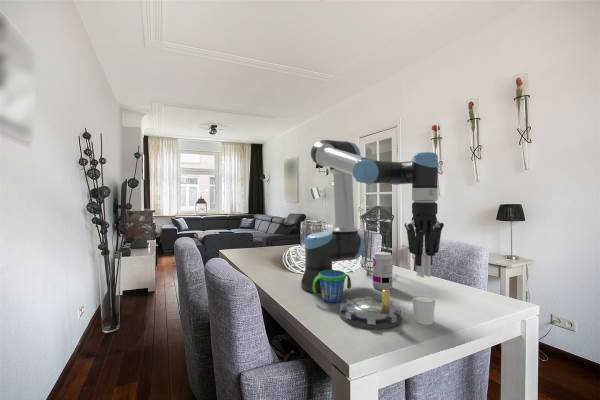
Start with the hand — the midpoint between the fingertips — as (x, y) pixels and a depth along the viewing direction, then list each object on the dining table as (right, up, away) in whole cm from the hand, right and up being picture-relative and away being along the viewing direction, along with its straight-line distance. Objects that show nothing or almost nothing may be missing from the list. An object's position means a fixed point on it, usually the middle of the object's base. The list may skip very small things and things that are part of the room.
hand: (423, 275), depth 95 cm
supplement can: (-4, -14, +35) cm, 38 cm away
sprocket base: (-16, -14, +4) cm, 22 cm away
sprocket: (-16, -13, +4) cm, 21 cm away
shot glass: (0, -15, +1) cm, 15 cm away
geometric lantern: (-1, -14, +56) cm, 58 cm away
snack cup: (-27, -14, +19) cm, 36 cm away
